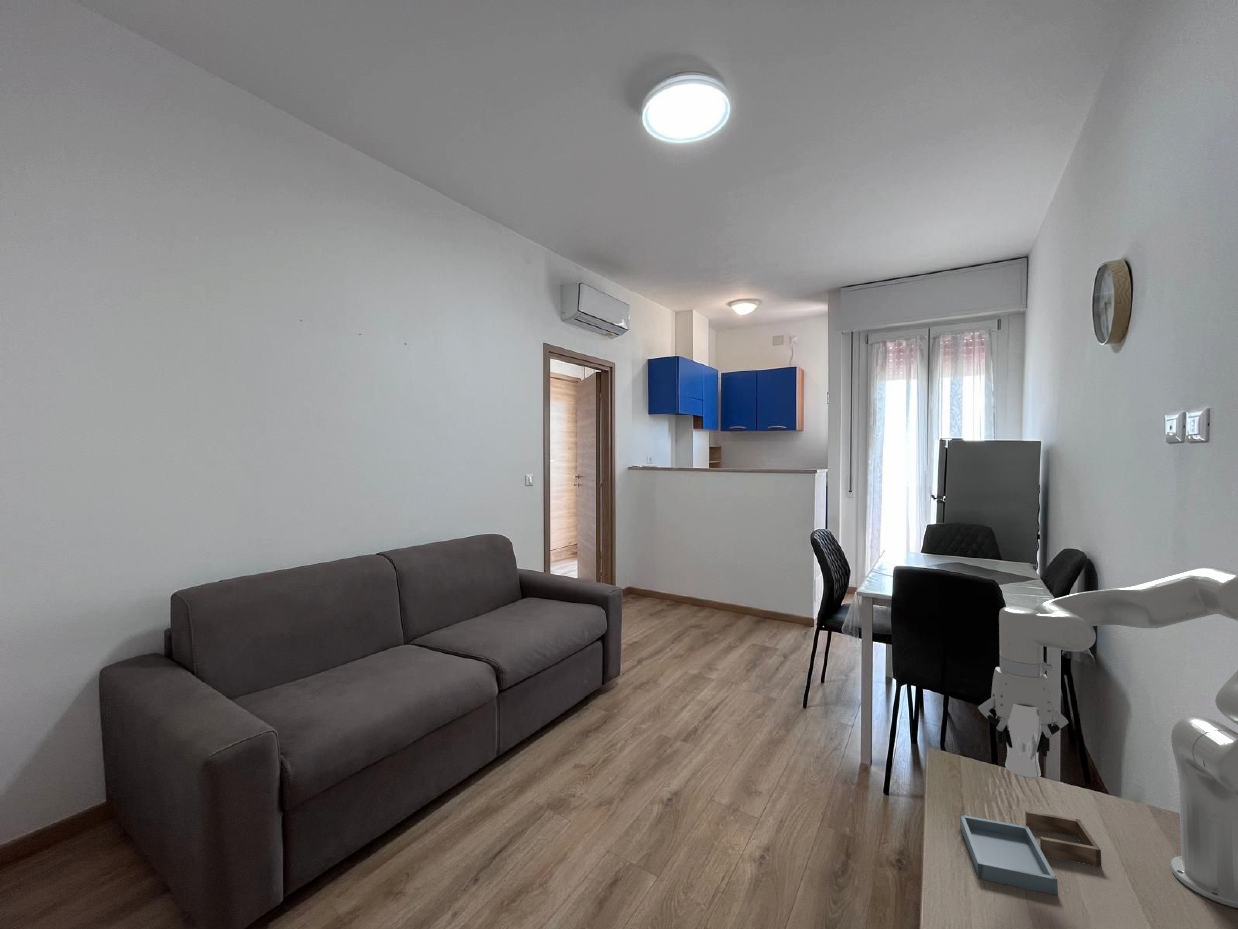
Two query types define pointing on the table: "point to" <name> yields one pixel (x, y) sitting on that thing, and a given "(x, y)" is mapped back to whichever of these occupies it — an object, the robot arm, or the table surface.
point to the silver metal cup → (1024, 741)
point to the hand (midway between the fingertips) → (1022, 749)
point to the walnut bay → (1063, 849)
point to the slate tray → (1007, 854)
